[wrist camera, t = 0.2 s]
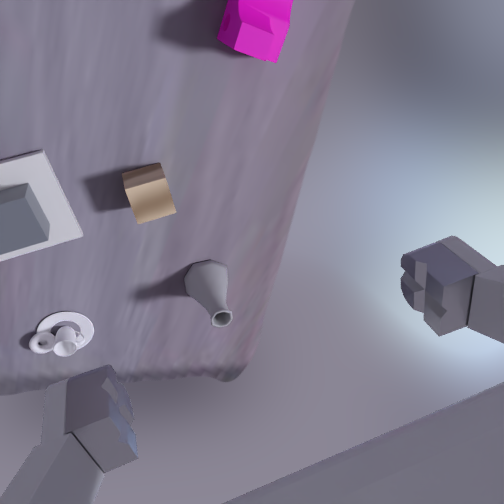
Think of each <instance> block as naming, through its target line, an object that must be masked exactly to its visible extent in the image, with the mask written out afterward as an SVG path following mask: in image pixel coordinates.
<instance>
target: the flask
mask: <svg viewBox="0 0 504 504" xmlns="http://www.w3.org/2000/svg"><path fill="white" fill-rule="evenodd" d="M184 282H185V288H186V293H187V294H189V295H190V296H191V297H192V298H194V299H195V300H196V301H197V302H199V303H200V304H201V305H202V306H203V307H204V308H205V309H206V310H207V311H208V313H209V314H210V316H211V325H212V326H214V327H218V328H221V327H225V326H228V325H229V324H230V322H231V321H232V319H233V318H232V311H230V310H228V307H227V305H226V294H227V285H228V274H227V266H226V265H224V264H221V263H218V262H216V261H213V260H208V261H204V262H199V263H195V264H193V265H192V266H191V268H190V269H189V271H188V273H187V274H186V276H185V277H184Z"/></svg>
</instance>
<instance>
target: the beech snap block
mask: <svg viewBox="0 0 504 504" xmlns="http://www.w3.org/2000/svg"><path fill="white" fill-rule="evenodd" d="M122 177H123V182H124V188H125V191H126V194H127V197H128V199H129V202H130V205H131V207H132V210H133V212H134V215H135V218H136V220H137V223H138V224H141V223H144V222H147V221H151V220H154V219H157V218H160V217H164V216H167V215H170V214H174V213H176V210H175V206H174V203H173V200H172V197H171V194H170V190H169V187H168V184H167V181H166V178H165V175H164V172H163V170H162V167H161V164H160V163H157V164H153V165H150V166H146V167H143V168H139V169H135V170H132V171H128V172H125V173H122Z"/></svg>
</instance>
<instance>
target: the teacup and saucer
mask: <svg viewBox="0 0 504 504" xmlns="http://www.w3.org/2000/svg"><path fill="white" fill-rule="evenodd" d="M61 321H73V322H75V323H77V324H78V325H79V326H80V329H81V332H78V331H75V330H73V328H71V327H70V326H63V327H61V328H60V329H59V330H58V331H57V333H56V336H54V335H53V334H52V333H51V329H52V327H53V326H54V325H55V324H56V323H58V322H61ZM75 333H77V334H79V336H78V337H77V338H76V334H75ZM93 334H94V327H93V324H92V322H91V321H90V320H89V319H88V318H87V317H85V316H84V315H82V314H79V313H75V312H59V313H55V314H52V315H50V316H48V317H47V318H45V319H44V320H43V321H42V322H41V323H40V324H39V326H38V328H37V334H35V335H34V336H33V337H32V338H31V339H30V342H29V347H30V349H31V350H32V351H33V352H35V353H46V352H49V351H51V350H53V351H54V352H55V354H57V355H59V356H70V355H72V354H73V353H75V351H76V350H77V349H80V348H82V347H83V346H85V345H86V344H87V343H88V342H89V341H90V340H91V339H92V337H93ZM39 342H40V343H41V344H42V345H39V344H38V343H39Z"/></svg>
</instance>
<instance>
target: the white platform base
mask: <svg viewBox="0 0 504 504" xmlns="http://www.w3.org/2000/svg"><path fill="white" fill-rule="evenodd" d="M79 237H83V232H82V230H81V228H80V225H79V223H78V221H77V219H76V217H75V215H74V213H73V211H72V209H71V206H70V204H69V202H68V200H67V198H66V196H65V194H64V192H63V190H62V188H61V185H60V183H59V181H58V179H57V177H56V175H55V173H54V171H53V169H52V167H51V164H50V162H49V160H48V158H47V156H46V154H45V152H44V150H40V151H36V152H32V153H29V154H25V155H21V156H17V157H14V158H10V159H6V160H2V161H0V261H3V260H7V259H10V258H13V257H17V256H20V255H23V254H26V253H30V252H33V251H36V250H40V249H43V248H46V247H50V246H53V245H56V244H60V243H63V242H66V241H69V240H73V239H76V238H79Z"/></svg>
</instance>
